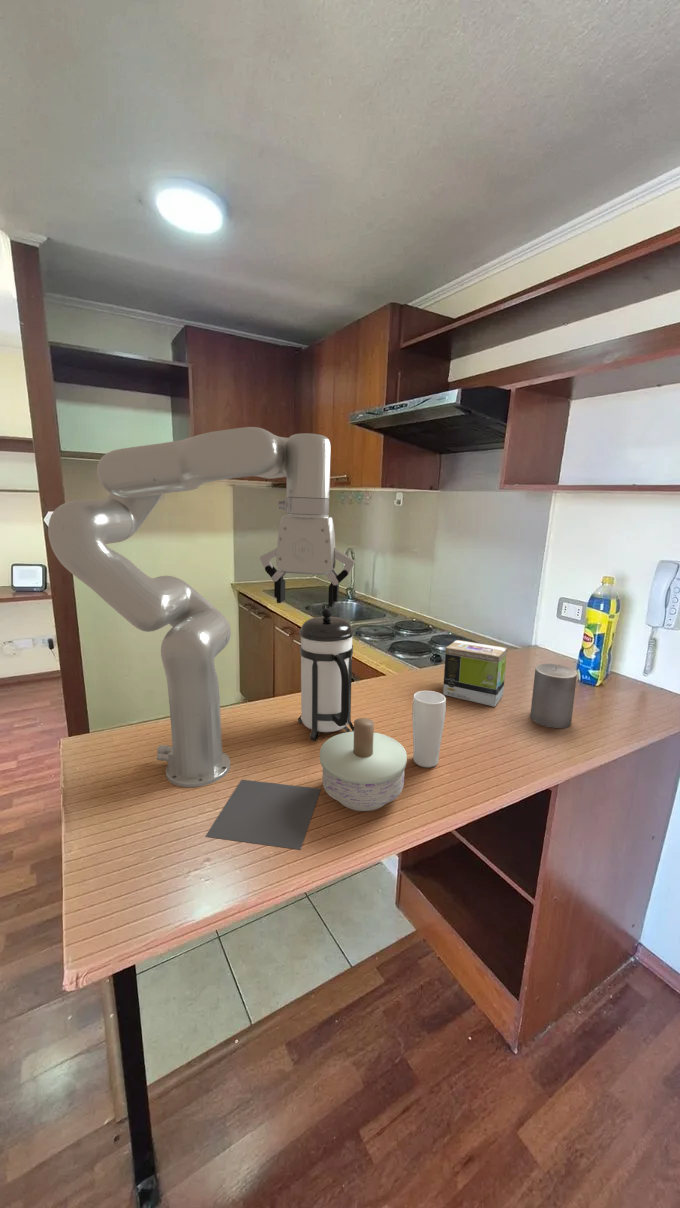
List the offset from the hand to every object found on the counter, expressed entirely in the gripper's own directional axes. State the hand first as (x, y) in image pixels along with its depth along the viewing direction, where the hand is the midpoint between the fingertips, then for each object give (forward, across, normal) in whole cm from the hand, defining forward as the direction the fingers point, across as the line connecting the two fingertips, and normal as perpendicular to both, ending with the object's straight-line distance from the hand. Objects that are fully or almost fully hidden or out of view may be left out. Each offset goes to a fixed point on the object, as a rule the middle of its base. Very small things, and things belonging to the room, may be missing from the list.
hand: (306, 603), depth 85 cm
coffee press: (+36, +1, +20) cm, 41 cm away
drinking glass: (+36, +24, +10) cm, 44 cm away
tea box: (+35, +38, +49) cm, 71 cm away
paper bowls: (+36, +12, -4) cm, 38 cm away
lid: (+28, +12, -4) cm, 30 cm away
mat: (+36, -4, -12) cm, 38 cm away
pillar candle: (+35, +56, +37) cm, 76 cm away
